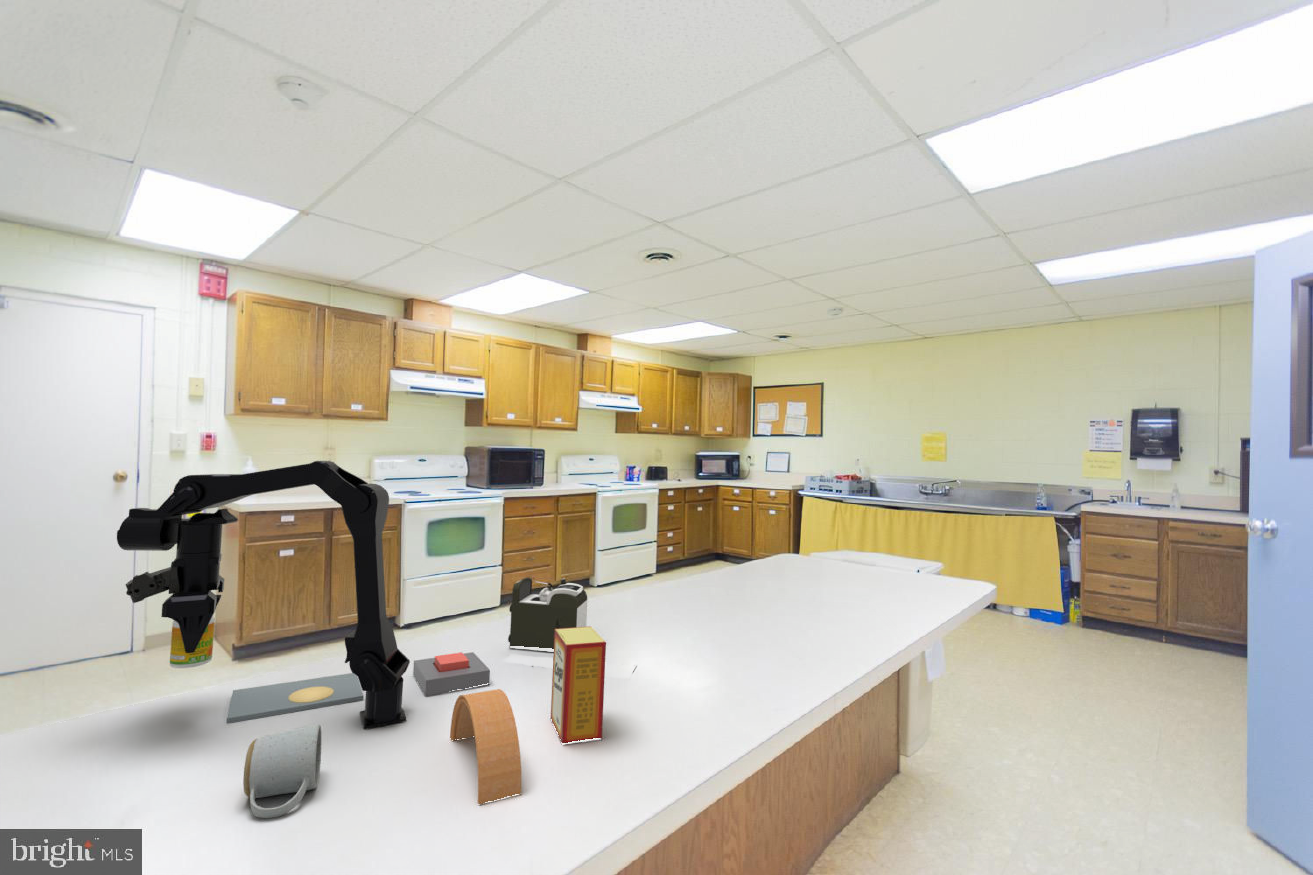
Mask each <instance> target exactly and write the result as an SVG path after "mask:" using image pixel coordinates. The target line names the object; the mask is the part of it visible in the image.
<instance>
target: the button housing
mask: <svg viewBox="0 0 1313 875" xmlns="http://www.w3.org/2000/svg"><path fill="white" fill-rule="evenodd" d="M463 654H464V655H465V656H466V657H467V659H468V660H469V668H465V669H459V670H453V671H446V672H440V673H439V672H438V670H437V669H436V667H435V666H434V661H435V657H430V658H424V659H417V660H413V667H412V668H413V669H412V676H413V675H414V676H413V678H414V677H415V678H414V679H416V680H415V681H417V682H418V683H417V682H416V683H417V685H418V684H419V685H418V687H419V686H420V687H419V689H420V688H421V689H422V690H421V689H420V690H421V692H422V694H423V693H424V694H423V696H424V697H425V696H427V697H431V695H433V696H437V695H436V694H438V695H442V694H441V693H444V692H449V691H452V690H457V689H465V688H469V687H473V686H478V685H482V684H487V683H489V684H490V680H491V679H490V678H491V677H490V676H491V670H490V668H488V667H487V665H486V664H485V663H484V662H483V661H482V660H481V658H480V657H478V655H477V654H476V653H474V651H473V652H466V653H463ZM444 694H445V693H444Z"/></svg>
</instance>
